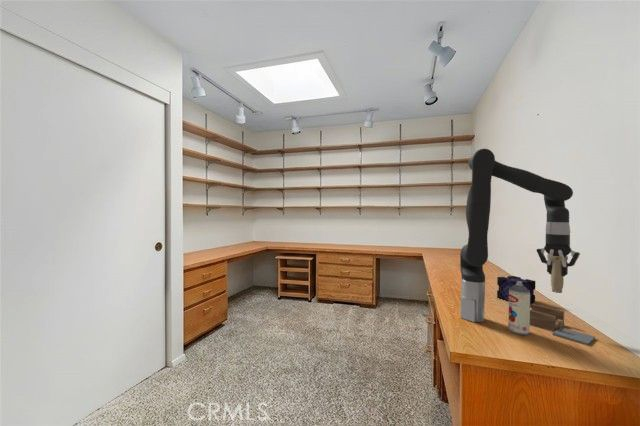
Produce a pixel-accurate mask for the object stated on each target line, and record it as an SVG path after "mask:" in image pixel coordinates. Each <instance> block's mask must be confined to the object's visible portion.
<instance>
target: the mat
mask: <svg viewBox="0 0 640 426" xmlns="http://www.w3.org/2000/svg"><path fill="white" fill-rule="evenodd" d="M552 336H555V337H559V338H561V339H564V340H568V341H571V342H573V343H574V342H575V343H578V344H582V345H584V346H590V345H591V344H592V343H593V342H594V340H595V339H596V336H595V335H591V334H587V333H584V332H579V331H576V330H573V329H569V328H565V327H563V326H562V327H560V328H559V329H557V330H556V331H555V332H553V331H552Z"/></svg>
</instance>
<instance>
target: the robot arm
mask: <svg viewBox="0 0 640 426" xmlns="http://www.w3.org/2000/svg"><path fill="white" fill-rule="evenodd" d="M495 157H496V156H495V154H494V152H493V151H492V150H491V149H489V148H481V149H478V150H476V151H475V152H473V154H472V155H471V156H470V157H469V159H468V162H467V163H468V167H469V169H471V183H470V187H469V189H468V190H469V191H468V193H467V197H466V199H467V200H466V206H465V207H466V208H465V219H466V224H467V225H466V226H467V230H468V239H467V244H465V245H463V247H462V248H461V250H460V254H459V255H460V260H459V264H460V265H459V267H460V268H459V269H460V274H461V285H460V286H461V287H460V288H461V289H460V290H461V291H460V292H461V294H460V296H461V297H460V315H459V316H460V318H461V319H462V320H463V319H464V320H466V321H469V322H472V323H483V322H484V321H485V318H486V317H485V313H486V312H485V311H486V310H485V307H486V305H485V304H486V302H485V301H486V275H485V273H484V268H483V267H484V265H485V264H486V263H487V261H488V260H489V259H488V258H489V247H488V243H489V242H488V232H489V226H490V225H489V224H490V214H491V205H492V204H491V200H492V199H491V198H492V177H494V178H496V179H497V178H498V179H501V180H503V181H506V182H508V183H510V184H513V185H515V186H517V187H519V188H522V189H524V190H527V191H529V192H531V193H536V194H537V193H538V194H541V195H543V200H544V201H543V202H544V206H545V209H546V223H545V224H546V225H545V246H544V247H542V248H537V249H536V253H537V255H538V257H539V259H540V261H541V263H543V264H545V265H546V272H547V273H548V274H549V275H551V269H552V260H550V259H548V258H547V257H546V256H545V253H547V255H549V256H560V257H562V260H561V262H562V265H563V267H562V276H563V277H566V276H567V275H568V273H569V271H568V268H569V267H574V266H575V265H576V262H577V260H578V259H579V257H580V255H581V253H580V252H579V251H575V250H573V249H572V248H571V226H570V210H569V209H568V208H566V203H565V202H567V201H568V200H570V199H571V198H572V197H573V195H574V191H573V188H572V187H571V186H569V185H567V184H566V183H564V182H560V181H557V180H553V179H550V178H545V177H543V176H541V175H539V174H536V173H533V172H531V171H528V170H526V169H522V168H518V167H513V166H510V165H506V164H504V163H501V162H499V161H497V160H496V158H495ZM570 254H571V255H570ZM568 255H570V256H571V259H570V261H569V262H568V260H565V259H564V257H566V256H568Z"/></svg>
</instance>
